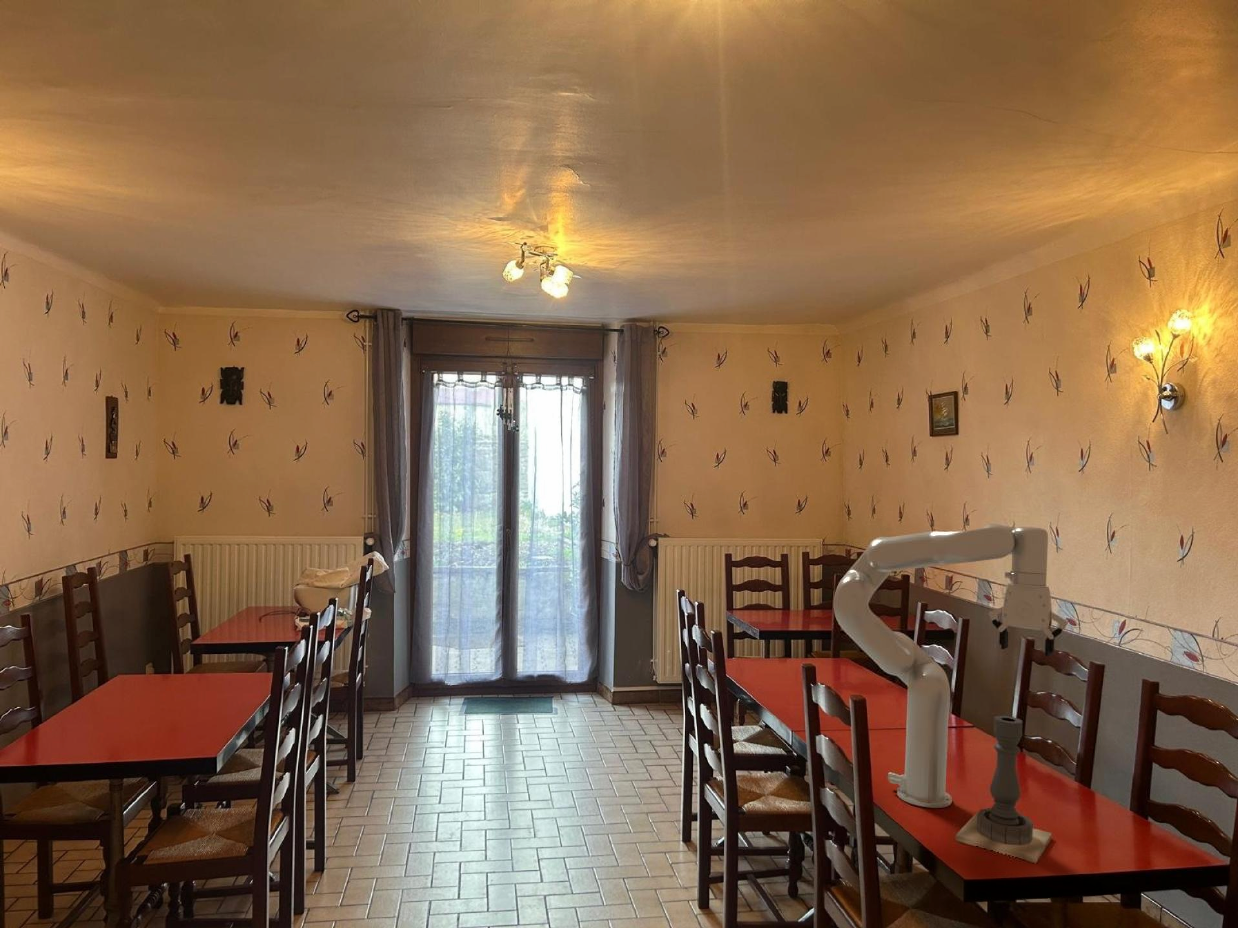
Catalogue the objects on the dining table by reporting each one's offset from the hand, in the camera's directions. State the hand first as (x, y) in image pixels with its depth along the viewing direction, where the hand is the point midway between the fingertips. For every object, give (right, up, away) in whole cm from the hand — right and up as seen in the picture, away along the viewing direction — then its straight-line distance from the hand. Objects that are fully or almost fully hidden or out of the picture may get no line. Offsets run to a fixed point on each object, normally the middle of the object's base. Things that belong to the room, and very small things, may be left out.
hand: (1026, 651), depth 204 cm
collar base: (-12, -38, -15) cm, 42 cm away
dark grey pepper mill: (-12, -37, -15) cm, 42 cm away
